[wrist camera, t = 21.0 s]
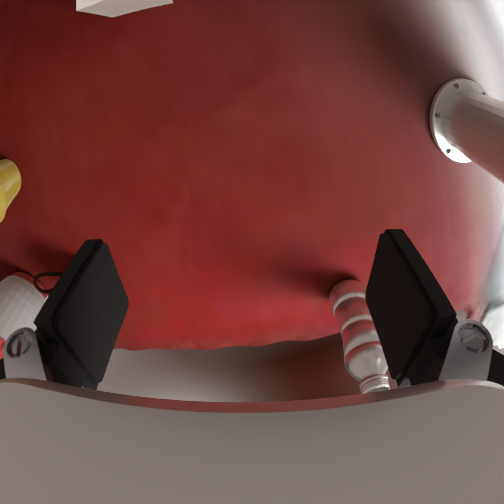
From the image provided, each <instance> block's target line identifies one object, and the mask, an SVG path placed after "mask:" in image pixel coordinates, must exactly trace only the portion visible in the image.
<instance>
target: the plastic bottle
mask: <svg viewBox="0 0 504 504" xmlns="http://www.w3.org/2000/svg"><path fill="white" fill-rule="evenodd" d="M365 293H366V288H365V286H364V285H363V284H362V283H361V282H359V281H356V280H352V279H349V280H344V281H341V282H339V283H337V284H336V285H335V286H334V287H333V289H332V290H331V292H330V294H329V304H330V307H331V310H332V312H333V313H334V315H335V317H336V319H337V322H338V324H339V327H340V330H341V333H342V339H343V344H344V358H345V366H346V369H347V370H348V372H349V373H350V374H351V375H352V376H353V377H354V378H356V379H357V380H359V381H360V382H361V383H360V389H361V391H362V394H365V393H371V392H378V391H385V390H390V386H389V383H388V376H387V375H386V374H385V373H386V371H387V368H388V365H387V362H386V359H385V356H384V353H383V350H382V347H381V344H380V341H379V338H378V335H377V332H376V329H375V326H374V323H373V320H372V317H371V315H370V312H369V309H368V306H367V304H366V300H365Z"/></svg>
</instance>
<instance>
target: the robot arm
mask: <svg viewBox="0 0 504 504" xmlns="http://www.w3.org/2000/svg"><path fill="white" fill-rule="evenodd" d="M435 114H436V115H435ZM430 129H431V133H432V137H433V140H434V142H435V144H436V146H437V147H438V148H439V150H440V151H441V152H442V153H443V154H444V155H445V156H447V157H448V158H450V159H451V160H453V161H456V162H460V163H467V162H471V161H473V162H474V163H476V164H477V165H479V166H480V167H482V168H483V169H485V170H486V171H487V172H489V173H490V174H492V175H493V176H494V177H496V178H497V179H498V180H500V181H501V182H502V183H504V102H503V101H500V100H498V99H495V98H492V97H489V96H488V94H487V93H486V91H485V90H484V89H483V88H482V87H481V86H480V85H479V84H477V83H476V82H474V81H471V80H468V79H463V78H457V79H452V80H450V81H448V82H446V83H445V84H444V85H442V86H441V87H440V89H439V90H438V91H437V93H436V95H435V97H434V99H433V102H432V105H431V110H430ZM365 300H366V304H367V306H368V309H369V312H370V315H371V317H372V320H373V323H374V326H375V329H376V332H377V335H378V338H379V341H380V344H381V347H382V350H383V353H384V356H385V359H386V362H387V365H388V369H389V372H390V375H391V378H392V379H396V382H397V385H398V387H402V388H397V389H391V390H385V391H378V392H371V393H365V394H358V395H350V396H342V397H333V398H324V399H313V400H299V401H282V402H252V403H251V402H247V403H244V402H243V403H241V402H236V403H234V402H232V403H231V402H198V401H181V400H168V399H157V398H147V397H138V396H129V395H123V394H115V393H109V392H103V391H97V390H96V389H97V386H98V383H99V382H101V381H102V379H103V377H104V374H105V371H106V368H107V365H108V362H109V359H110V356H111V353H112V350H113V347H114V344H115V342H116V339H117V336H118V333H119V331H120V328H121V325H122V322H123V320H124V317H125V315H126V312H127V309H128V305H129V302H128V297H127V295H126V293H125V290H124V288H123V285H122V282H121V280H120V277H119V275H118V272H117V269H116V267H115V264H114V261H113V259H112V256H111V253H110V250H109V247H108V245H107V244H106V243H104V242H103V241H102V240H101V239H94V240H86V241H85V242H84V243H83V245H82V246H81V248H80V249H79V250H78V252H77V253H76V255H75V256H74V258H73V259H72V260H71V262H70V263H69V265H68V266H67V268H66V269H65V271H64V272H63V274H62V275H61V277H60V278H59V280H58V282H57V283H56V285H55V286H54V288H53V289H52V291H51V293H50V294H49V296H48V298H47V299H46V301H45V303H44V304H43V306H42V308H41V309H40V311H39V313H38V315H37V316H36V318H35V320H34V322H33V323H34V324H35V326H36V327H37V328H36V330H35V331H34V330H32V329H31V328H28V327H23V328H20V329H17V330H16V331H14V332H13V333H12V334H11V335H10V336H9V337H8V339H7V340H6V342H5V345H4V347H3V358H1V359H0V504H504V355H502V354H500V353H499V352H497V351H495V350H493V349H492V348H493V340H492V337H491V334H490V333H489V331H488V330H487V329H486V328H485V327H484V326H483V325H482V324H481V323H479V322H477V321H475V320H471V319H465V320H461V321H460V322H458V320H457V319H456V312H455V310H454V309H453V307H452V305H451V303H450V302H449V300H448V298H447V297H446V295H445V293H444V292H443V290H442V288H441V287H440V285H439V283H438V282H437V280H436V278H435V277H434V275H433V274H432V272H431V270H430V269H429V267H428V266H427V264H426V263H425V261H424V260H423V258H422V257H421V255H420V254H419V252H418V251H417V249H416V248H415V246H414V245H413V243H412V242H411V241H410V239H409V238H408V236H407V235H406V233H405V232H404V231H403V230H402V229H386V230H385V232H384V233H382V234H380V237H379V241H378V245H377V249H376V254H375V258H374V262H373V266H372V270H371V274H370V278H369V282H368V285H367V289H366V293H365ZM408 385H411V386H408ZM82 386H83V387H84V388H82ZM403 386H408V387H403ZM86 388H87V389H86ZM91 389H92V390H91Z"/></svg>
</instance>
